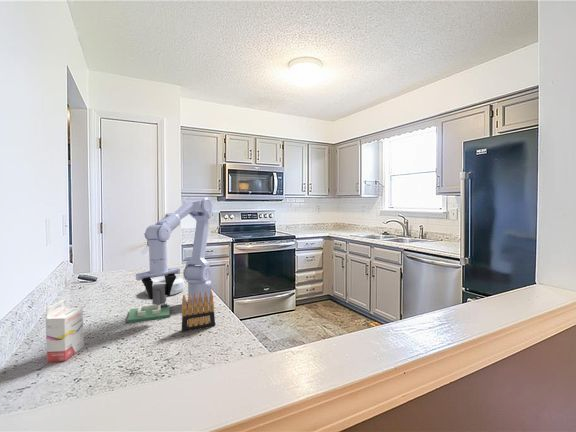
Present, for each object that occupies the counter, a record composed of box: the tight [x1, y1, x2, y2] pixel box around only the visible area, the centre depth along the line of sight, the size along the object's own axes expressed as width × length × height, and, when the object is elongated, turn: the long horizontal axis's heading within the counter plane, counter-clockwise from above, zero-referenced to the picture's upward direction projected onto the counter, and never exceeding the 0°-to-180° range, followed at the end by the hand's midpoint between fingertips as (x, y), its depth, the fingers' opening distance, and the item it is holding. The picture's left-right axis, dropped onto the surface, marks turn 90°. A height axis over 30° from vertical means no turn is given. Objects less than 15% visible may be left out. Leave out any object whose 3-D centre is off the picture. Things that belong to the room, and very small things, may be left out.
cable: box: [144, 275, 186, 297], centre depth 144 cm, size 18×18×6 cm
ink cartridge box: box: [45, 298, 84, 363], centre depth 85 cm, size 9×5×15 cm, turn 5°
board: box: [126, 303, 171, 324], centre depth 115 cm, size 14×12×2 cm
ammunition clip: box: [181, 290, 216, 333], centre depth 102 cm, size 11×2×12 cm, turn 115°
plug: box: [151, 284, 167, 305], centre depth 107 cm, size 4×5×6 cm
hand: (159, 296), depth 107 cm, fingers closed on plug, 5 cm apart
